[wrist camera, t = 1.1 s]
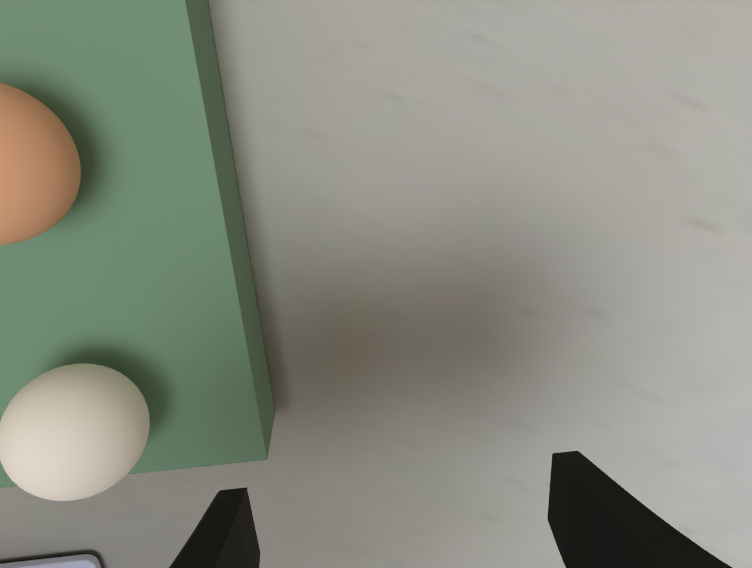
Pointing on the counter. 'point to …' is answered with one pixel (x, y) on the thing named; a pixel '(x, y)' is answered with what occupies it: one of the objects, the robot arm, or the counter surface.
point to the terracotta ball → (33, 167)
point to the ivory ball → (73, 432)
